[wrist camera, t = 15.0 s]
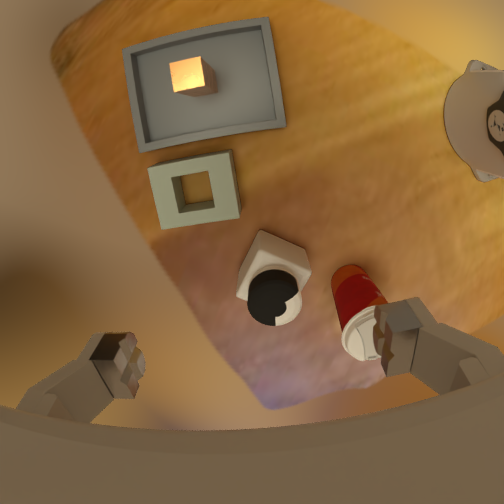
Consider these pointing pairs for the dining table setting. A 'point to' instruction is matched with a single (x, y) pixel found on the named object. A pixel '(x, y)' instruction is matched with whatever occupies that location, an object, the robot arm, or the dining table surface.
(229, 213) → the socket block
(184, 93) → the pin
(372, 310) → the paper cup
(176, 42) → the tray
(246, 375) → the dining table surface
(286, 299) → the medicine bottle
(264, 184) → the dining table surface
